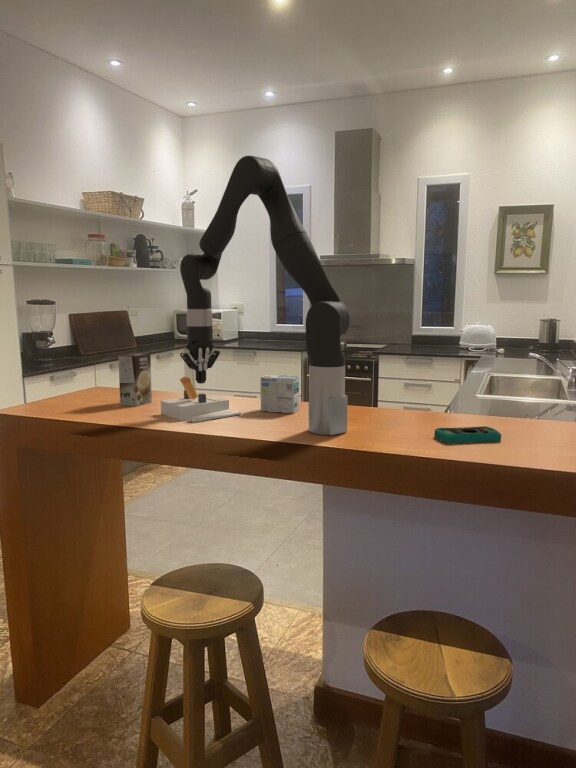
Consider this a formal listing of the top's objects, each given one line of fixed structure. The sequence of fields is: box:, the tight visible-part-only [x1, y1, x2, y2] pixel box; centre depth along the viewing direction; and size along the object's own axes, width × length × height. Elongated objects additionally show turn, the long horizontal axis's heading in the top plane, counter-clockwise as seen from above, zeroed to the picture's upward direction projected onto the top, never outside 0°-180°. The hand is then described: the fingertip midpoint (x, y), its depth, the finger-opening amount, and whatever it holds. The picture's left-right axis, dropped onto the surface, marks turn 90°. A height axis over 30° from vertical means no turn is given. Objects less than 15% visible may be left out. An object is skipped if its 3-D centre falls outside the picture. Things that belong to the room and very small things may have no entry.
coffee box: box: [118, 352, 153, 407], centre depth 183 cm, size 9×6×16 cm
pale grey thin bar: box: [185, 408, 231, 423], centre depth 163 cm, size 1×16×1 cm, turn 141°
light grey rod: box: [192, 410, 242, 424], centre depth 161 cm, size 1×16×1 cm, turn 131°
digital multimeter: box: [434, 425, 502, 444], centre depth 139 cm, size 7×15×3 cm, turn 101°
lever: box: [179, 376, 198, 400], centre depth 166 cm, size 3×2×7 cm, turn 41°
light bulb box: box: [260, 374, 300, 414], centre depth 172 cm, size 11×7×11 cm, turn 76°
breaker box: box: [160, 389, 230, 421], centre depth 168 cm, size 12×16×6 cm
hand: (201, 383), depth 168 cm, fingers closed
